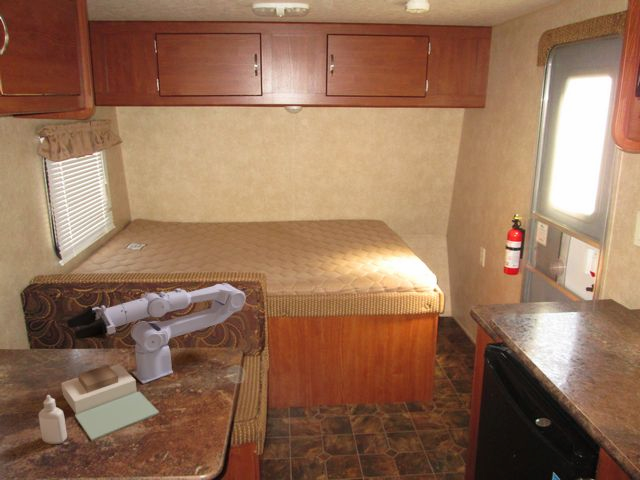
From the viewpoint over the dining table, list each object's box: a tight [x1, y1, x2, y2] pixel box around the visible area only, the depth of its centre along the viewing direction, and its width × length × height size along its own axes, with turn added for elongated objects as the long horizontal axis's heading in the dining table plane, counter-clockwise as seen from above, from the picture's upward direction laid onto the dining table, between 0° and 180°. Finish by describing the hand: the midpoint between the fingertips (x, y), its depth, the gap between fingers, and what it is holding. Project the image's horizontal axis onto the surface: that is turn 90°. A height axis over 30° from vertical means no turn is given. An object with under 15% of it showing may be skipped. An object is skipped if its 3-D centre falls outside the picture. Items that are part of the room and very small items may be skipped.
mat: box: [74, 391, 160, 442], centre depth 132 cm, size 17×13×1 cm
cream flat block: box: [61, 363, 138, 415], centre depth 141 cm, size 16×12×4 cm
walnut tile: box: [77, 364, 118, 393], centre depth 140 cm, size 8×8×2 cm
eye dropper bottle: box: [38, 394, 68, 445], centre depth 121 cm, size 4×6×12 cm
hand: (71, 329), depth 134 cm, fingers open, 7 cm apart
